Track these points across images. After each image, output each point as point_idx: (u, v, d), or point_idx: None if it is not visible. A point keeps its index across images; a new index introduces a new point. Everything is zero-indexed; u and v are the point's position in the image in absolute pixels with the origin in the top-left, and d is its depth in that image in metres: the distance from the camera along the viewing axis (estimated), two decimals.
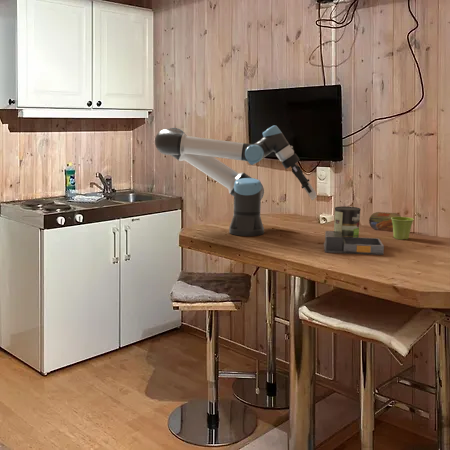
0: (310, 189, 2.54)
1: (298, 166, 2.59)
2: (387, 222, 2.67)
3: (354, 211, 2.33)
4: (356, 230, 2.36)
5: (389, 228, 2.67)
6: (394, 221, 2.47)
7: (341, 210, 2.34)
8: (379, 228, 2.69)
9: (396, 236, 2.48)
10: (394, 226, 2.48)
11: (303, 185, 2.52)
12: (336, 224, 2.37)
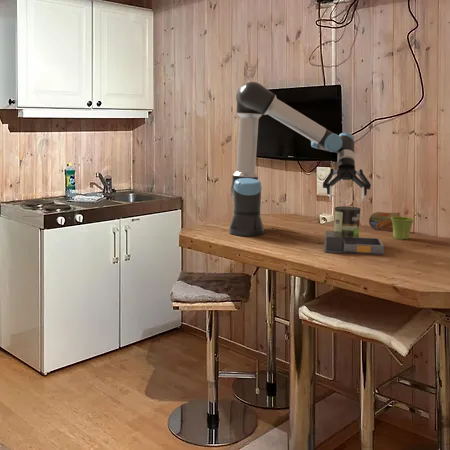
0: (365, 193, 2.50)
1: None
2: (387, 222, 2.67)
3: (354, 211, 2.33)
4: (356, 230, 2.36)
5: (389, 228, 2.67)
6: (394, 221, 2.47)
7: (341, 210, 2.34)
8: (379, 228, 2.69)
9: (396, 236, 2.48)
10: (394, 226, 2.48)
11: (370, 185, 2.50)
12: (336, 224, 2.37)
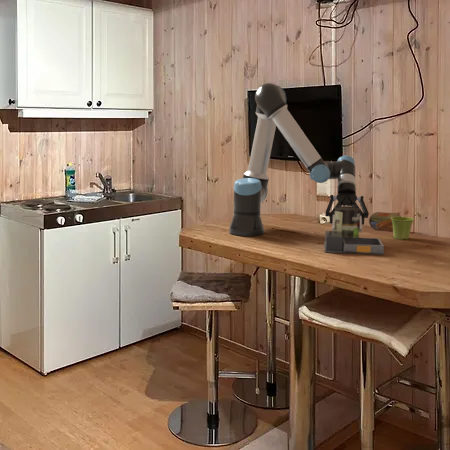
0: (363, 222, 2.39)
1: None
2: (387, 222, 2.67)
3: (354, 211, 2.33)
4: (356, 230, 2.36)
5: (389, 228, 2.67)
6: (394, 221, 2.47)
7: (341, 210, 2.34)
8: (379, 228, 2.69)
9: (396, 236, 2.48)
10: (394, 226, 2.48)
11: (368, 214, 2.39)
12: (336, 224, 2.37)
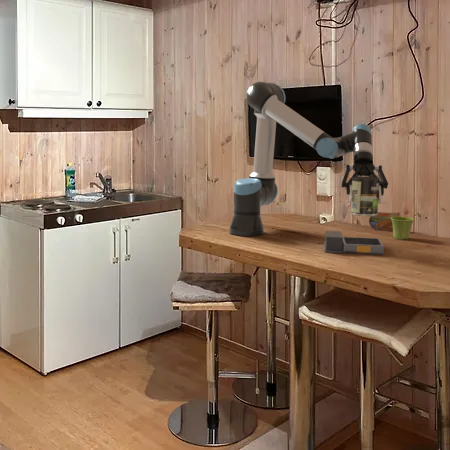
0: None
1: None
2: (387, 222, 2.67)
3: (373, 180, 2.18)
4: (375, 201, 2.20)
5: (389, 228, 2.67)
6: (394, 221, 2.47)
7: (359, 179, 2.18)
8: (379, 228, 2.69)
9: (396, 236, 2.48)
10: (394, 226, 2.48)
11: None
12: (354, 195, 2.21)
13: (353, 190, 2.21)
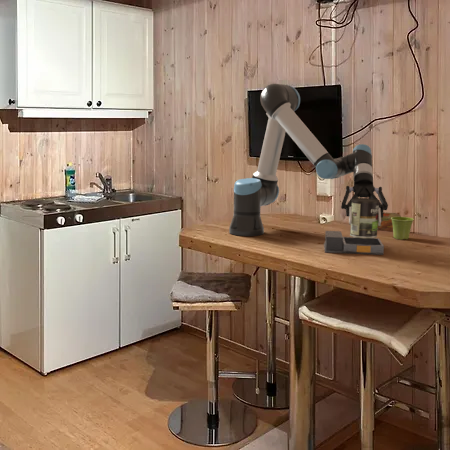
0: (382, 215, 2.22)
1: None
2: (387, 222, 2.67)
3: (373, 203, 2.17)
4: (375, 223, 2.19)
5: (389, 228, 2.67)
6: (394, 221, 2.47)
7: (359, 202, 2.18)
8: (379, 228, 2.69)
9: (396, 236, 2.48)
10: (394, 226, 2.48)
11: (387, 206, 2.23)
12: (353, 217, 2.21)
13: (352, 212, 2.21)
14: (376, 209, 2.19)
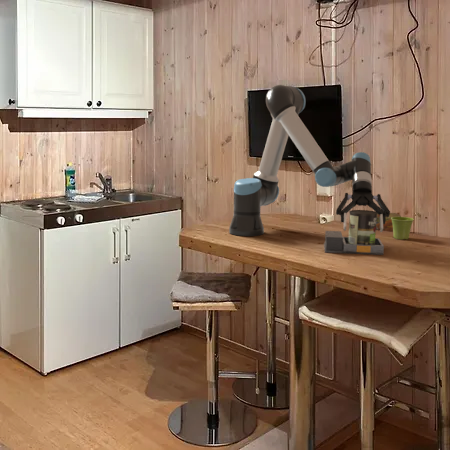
0: (384, 221, 2.24)
1: None
2: (387, 222, 2.67)
3: (371, 215, 2.18)
4: (372, 235, 2.21)
5: (389, 228, 2.67)
6: (394, 221, 2.47)
7: (357, 214, 2.19)
8: (379, 228, 2.69)
9: (396, 236, 2.48)
10: (394, 226, 2.48)
11: (389, 212, 2.24)
12: (351, 229, 2.22)
13: (350, 224, 2.22)
14: (374, 221, 2.20)
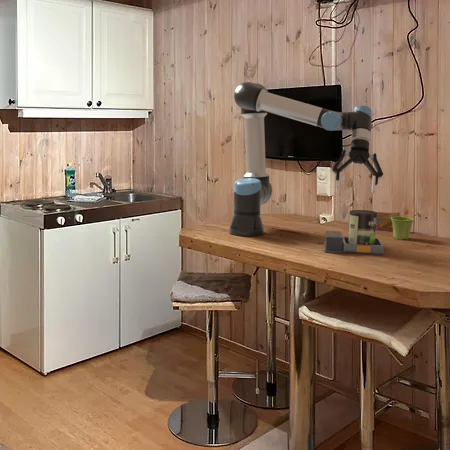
0: None
1: None
2: (387, 222, 2.67)
3: (371, 215, 2.18)
4: (372, 235, 2.21)
5: (389, 228, 2.67)
6: (394, 221, 2.47)
7: (357, 214, 2.19)
8: (379, 228, 2.69)
9: (396, 236, 2.48)
10: (394, 226, 2.48)
11: (382, 174, 2.36)
12: (351, 229, 2.22)
13: (350, 224, 2.22)
14: (374, 221, 2.20)
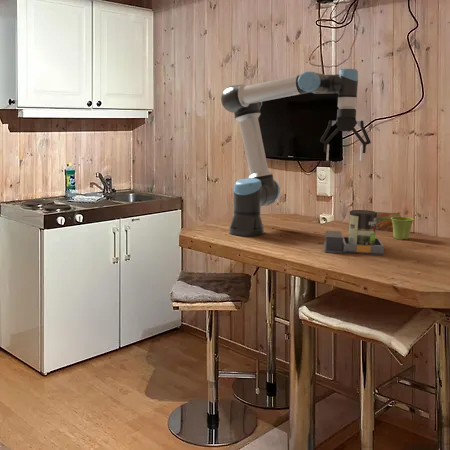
0: None
1: None
2: (387, 222, 2.67)
3: (371, 215, 2.18)
4: (372, 235, 2.21)
5: (389, 228, 2.67)
6: (394, 221, 2.47)
7: (357, 214, 2.19)
8: (379, 228, 2.69)
9: (396, 236, 2.48)
10: (394, 226, 2.48)
11: (370, 142, 2.37)
12: (351, 229, 2.22)
13: (350, 224, 2.22)
14: (374, 221, 2.20)
